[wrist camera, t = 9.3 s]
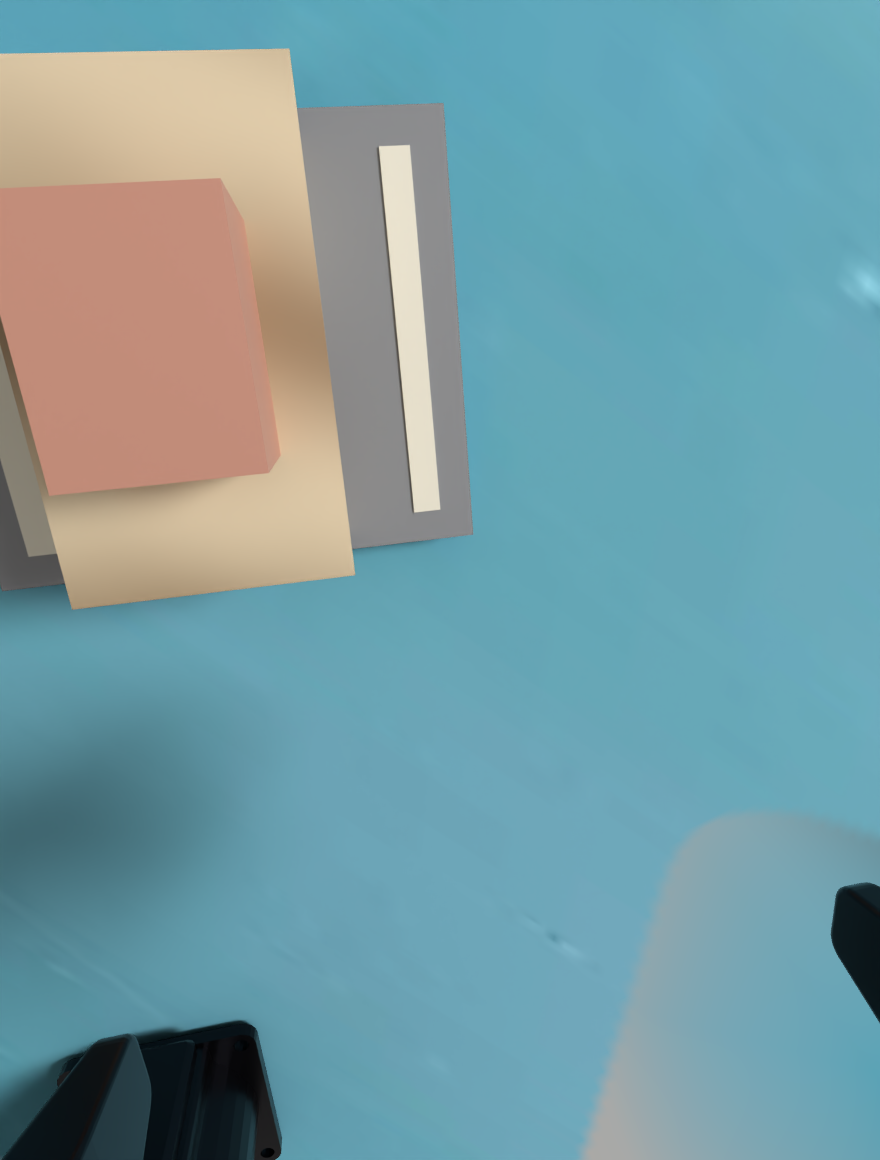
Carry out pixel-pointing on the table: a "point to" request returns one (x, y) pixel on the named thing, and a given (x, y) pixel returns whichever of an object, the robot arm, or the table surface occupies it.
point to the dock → (346, 339)
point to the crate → (135, 333)
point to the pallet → (284, 299)
